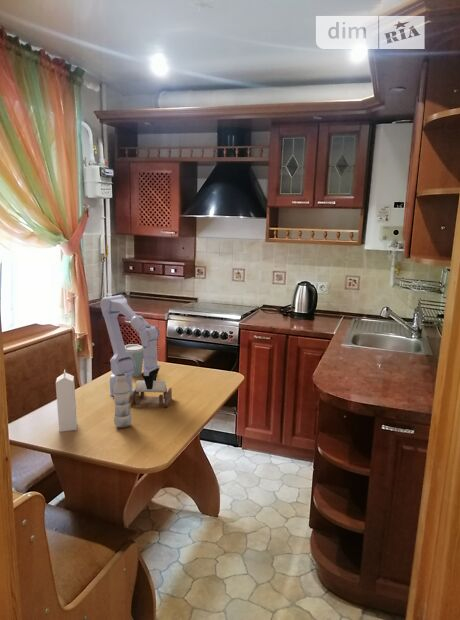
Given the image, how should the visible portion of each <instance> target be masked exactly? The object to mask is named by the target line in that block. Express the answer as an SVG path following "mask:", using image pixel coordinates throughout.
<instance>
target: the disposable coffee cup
mask: <svg viewBox="0 0 460 620" xmlns="http://www.w3.org/2000/svg"><path fill="white" fill-rule="evenodd" d="M124 345H125V344H124ZM125 349H126V352H128V353H130V354H131V355H132V358H133V359H134V361H135V364H136V367H135V370H134V371H133V373H132V378H134V377H135V376H136V377H139V375H140V376H142V375H141V374H142V373H143V366H144V363H143V346H142V344H141V345H140V344H137V343H135V344H134V343H130V344H126V345H125Z"/></svg>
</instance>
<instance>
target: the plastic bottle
mask: <svg viewBox="0 0 460 620" xmlns="http://www.w3.org/2000/svg"><path fill="white" fill-rule="evenodd" d="M116 381H117V382H116V383H115V385H114V386H113V394H114V396H113V398H114V417H113V418H114V419H113V421H114V425H115V426H116V427H117V428H120V429H123V428H128V427H129V426H130V425H132V420H133V418H132V413H131V405H130V386H129V384H128V383H127V382H126V374H117V375H116Z"/></svg>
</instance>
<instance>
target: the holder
mask: <svg viewBox="0 0 460 620" xmlns="http://www.w3.org/2000/svg"><path fill="white" fill-rule="evenodd" d="M134 389H135V390H134V391H133V393H132V394H131V395H130V397H129V403H130V408H152V409H153V408H156V409H167V408H168V407H169V405H170V404H171V401H172V395H173V394H172V392H173V391H172V390H173V389H172V387H169V389H168V390H167V387H166V392H165V393H164V392H162V393H163V394H159V395H158V396H149V395H148V396H145V392H136V388H134Z"/></svg>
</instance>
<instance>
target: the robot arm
mask: <svg viewBox="0 0 460 620" xmlns="http://www.w3.org/2000/svg"><path fill="white" fill-rule="evenodd" d="M99 307H100V309H101V313H102V314H101V315H102V317H104V318H103V319H104V321H105V326H106V328H107V333H108V336H109V340H110V344H111V348H112V351H113V356H112V357H111V358H110V360H109V361H110V370H111V375H110V378H109V391H110V392H109V396H113V397H114V394H113V386H114V385H115V383H116V382H117V381H116V375H117V374H126V382H127V383H128V384H129V386H130V395H131V394H132V393H133V391H134V390H135V389H136V388H133V377H132V373H133V371H134V370H135V367H136V364H135V361H134V359H133V358H132V355H131V354H130V353H128V352H126V349H125V342H124V339H123V335H122V331H121V327H120V324H119V321H118V316H119V315H120V314H122V315H123V316H124V317H125V318H127V319H128V320H129V321H130V326H131V327H132V328H133V329H134V330H135V331H136V332H137V333H138V334H139V339H140V342H141V346H142V347H143V365H142V370H143V371H142V373H141V375H140V376H141V377H142V379H143V380H144V381H145V384H146V388H147V389H152V388H153V381H157V377H158V373H159V372H160V368H161V365H158V343H157V340H159V339H160V336H161V335H160V330H159V329H158V327H157V326H156V325H151V324H149V323H148V321H146V320H145V318H144V317H143V316H142V315H137V314H136V312H134V310H133V309H132V307H131V306H130V305H129V303H128V300H127V298H126V297H125V296H124V295H123V294H118V295H112V296H103V297H102V298H101V300H100V303H99Z"/></svg>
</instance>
